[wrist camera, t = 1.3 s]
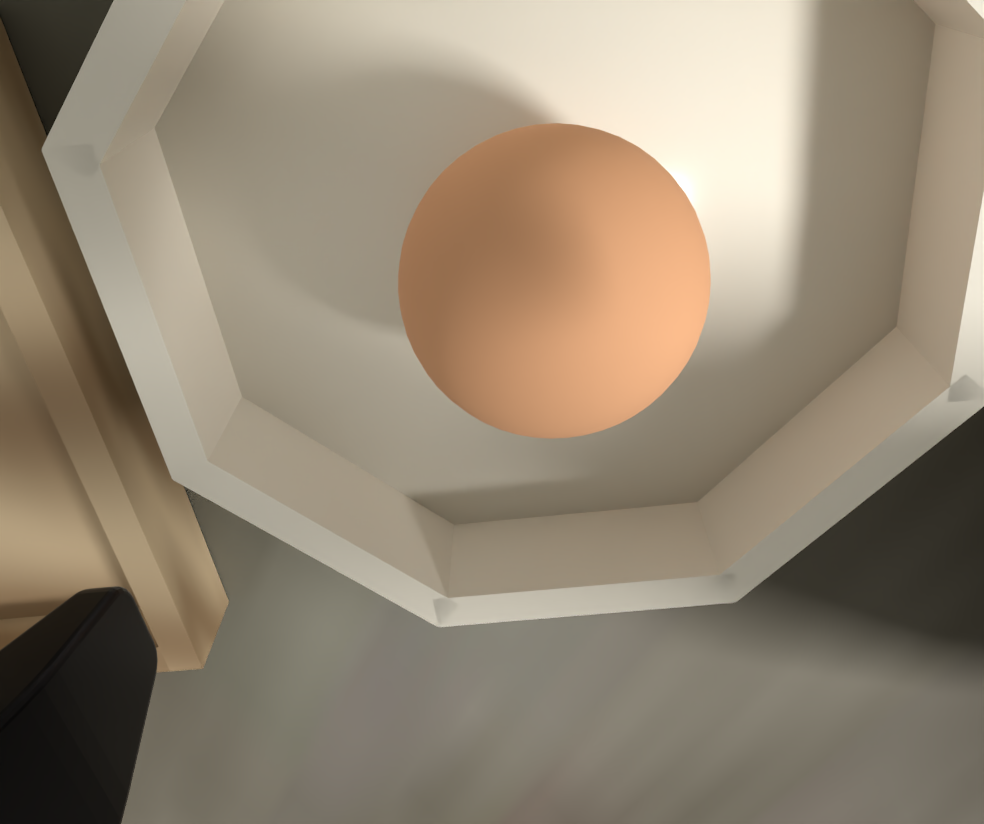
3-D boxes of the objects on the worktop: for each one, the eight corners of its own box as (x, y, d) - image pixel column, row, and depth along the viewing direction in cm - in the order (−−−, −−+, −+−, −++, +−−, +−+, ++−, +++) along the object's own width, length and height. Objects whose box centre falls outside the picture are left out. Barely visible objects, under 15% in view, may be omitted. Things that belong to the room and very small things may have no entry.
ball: (682, 337, 17) (741, 485, 13) (436, 363, 17) (413, 515, 13) (678, 75, 15) (750, 151, 10) (390, 113, 15) (343, 201, 11)
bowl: (897, 494, 20) (956, 584, 17) (270, 552, 21) (237, 643, 18) (1022, -351, 12) (1160, -417, 10) (18, -185, 13) (-100, -203, 11)
